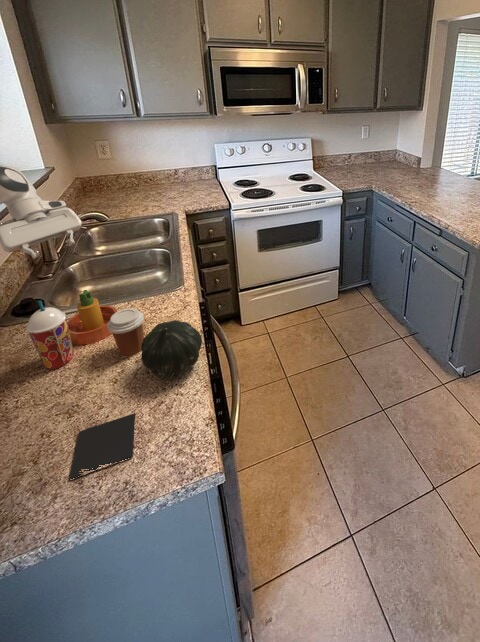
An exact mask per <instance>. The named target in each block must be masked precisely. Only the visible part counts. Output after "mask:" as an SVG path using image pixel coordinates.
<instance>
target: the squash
mask: <svg viewBox="0 0 480 642" xmlns="http://www.w3.org/2000/svg"><path fill="white" fill-rule="evenodd" d="M202 345H203V339H202V335H201V333H200V332H199V330H197V329H196V328H195V327H194V326H192V325H191V324H190V323H189V322H186V321H180V320H177V319H174V320H170V321H163V322H159V323H158V324H157V325H155V326H154V327H153V328H152V330H151V331H150V332H148V333H147V334H146V335H144V340H143V342H142V345H141V350H142V351H141V362H142V364H143V366H144V367H145V369H148V370H149V372H150V373H151V374H153V375H159V376H161V378H162V379H165V380H169V379H170V378H172V377H173V376H174V375H175V376H182V375H183V374H185V372H186V371H187V369H188V368H189V367H190V368H191V367H192V366H194V365H195V364H196V363H197V362H198V360H199V358H200V350H201V347H202Z"/></svg>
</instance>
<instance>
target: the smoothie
mask: <svg viewBox="0 0 480 642" xmlns="http://www.w3.org/2000/svg"><path fill="white" fill-rule="evenodd" d="M37 303H38V306H39V309H38V310H36V311H35V312H33V314H32V315H30V317H29V319H28V322H27V324H26V326H25V329H26V331H27V333H28V335H29V337H30V339H31V341H32V344H33V345H34V347H35V350H36V352H37V353H38V356H39V358H40V360H41V362H42V364H43V367H44V368H47V369H49V370H56V369H59V368H63V367H65V366H66V365H67V364H69V363H70V362H71V361H72V359H73V357H74V354H75V352H74V348H73V343H72V342H71V338H70V333H69V328H68V324H67V322H68V319H67V314H66V313H65V312H64V311H62V310H61V309H58V308H57V307H53V306H52V307H51V306H48V307H47V306H46V307H44V305H43V302H42V300H38V302H37Z"/></svg>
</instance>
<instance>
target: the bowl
mask: <svg viewBox="0 0 480 642" xmlns="http://www.w3.org/2000/svg"><path fill="white" fill-rule="evenodd" d="M99 306H100V309H101V313H102V317H103V321H104V324H105V325H103V326H101V327H99V328H97V329H94V330H91V331H87V332H84V329H83V326H82V322H81V319H80V316H79V312H76V314H74V315H73V316H71V317H70V318H69V319H68V320H67V324H68V328H69V333H70V338H71V342H72V345H73V344H74V345H80V346H81V345H91V344H94V343H97V342H99V341H102V340H104V339H106V338H108V337H109V336H111V335H113V334H112V333H111V332H109V331H108V329H107V324H108V322H109V321H110V318H111V317H112V315H113V314H115V313H116V312H118V310H117V308H116V307H113V306H111V305H107V304H106V305H99Z"/></svg>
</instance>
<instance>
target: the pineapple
mask: <svg viewBox="0 0 480 642" xmlns="http://www.w3.org/2000/svg"><path fill="white" fill-rule="evenodd" d="M78 298H79V302H78V304H77V305H76V309H77V313H79V316H80V319H81V322H82V326H83V329H84V332H87V331H91V330H94V329H97V328H99V327H101V326H103V325H105V324H104V321H103V317H102V313H101V309H100V306H101V305H100V302H99V299H97V298H96V297H93V295H92V292H91V291H88V289H83V291H82V292H81V293H79V294H78Z"/></svg>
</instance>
